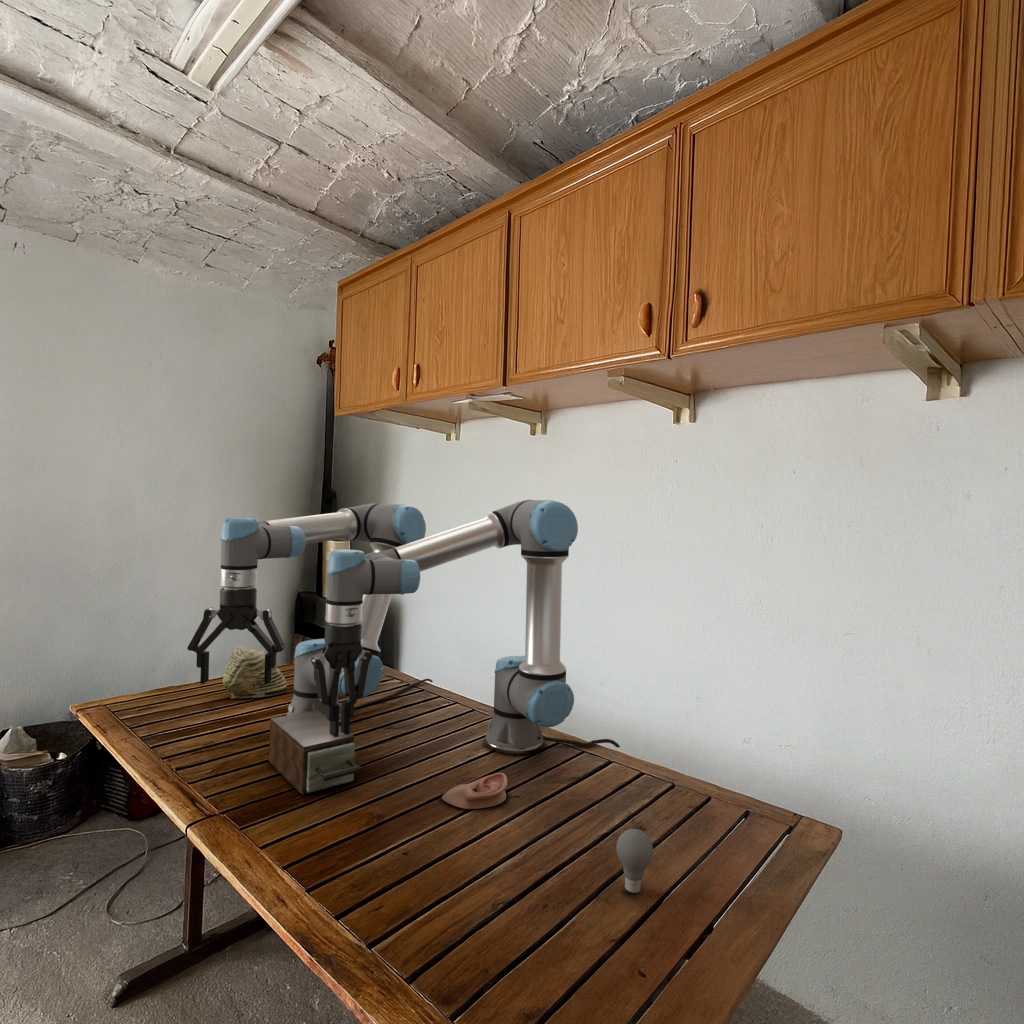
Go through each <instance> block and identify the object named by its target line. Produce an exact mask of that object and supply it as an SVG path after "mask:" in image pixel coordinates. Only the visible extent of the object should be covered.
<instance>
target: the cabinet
mask: <svg viewBox="0 0 1024 1024" xmlns="http://www.w3.org/2000/svg"><path fill="white" fill-rule="evenodd" d="M286 715H287V714H286ZM286 715H282V716H276V717H271V718H270V720H269V722H270V723H269V744H268V745H269V747H268V748H269V749H268V762H269V763H270V764H271V765H272V766H273V767H274V768H275V770H277V772H278V773H280V774H281V776H283V777H284V778H285V779H286V780H287V782H288V783H290V785H292V786H293V788H295V789H296V790H297V791H298V793H300V794H301V795H302V796H304V795H307V794H311V793H314V792H315V791H313V792H309V793H308V792H307V791H306V789H307V763H308V751H310V750H314V749H319V748H323V747H328V746H332V745H337V744H341V743H345V744H348V743H352V742H353V743H354V744H355V735H353V734H351V733H350V732H349V734H348V735H345V734H344V733H343V732H341V725H339V734H338V737H334V736H332V735H331V734H330V721H329V720H327V717H326V716H325V715H323V714H322V713H321V712H319V711H318V710H314V711H308V712H303V713H298V714H292V715H287V716H286ZM351 782H353V781H350V782H346V783H343V784H342V785H344V784H347V783H351ZM339 785H340V786H341V784H339ZM339 785H335V786H331V787H328V788H324V789H320V790H317V791H316V792H318V791H321V790H326V789H329V788H332V787H333V788H334V787H336V786H339Z"/></svg>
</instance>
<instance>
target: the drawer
mask: <svg viewBox="0 0 1024 1024" xmlns="http://www.w3.org/2000/svg"><path fill="white" fill-rule="evenodd" d="M355 754H356V743H355V742H354V743H353V742H352V743H348V744H345V743H341V744H337V745H332V746H328V747H323V748H319V749H314V750H310V751H308V763H307V789H306V791H307V792H308V793H307V794H310V793H309V792H311V793H314V792H318V791H321V790H320V789H322V790H325V789H324V788H326V789H329V788H332V787H331V786H333V787H336V786H335V785H337V786H339V784H340V785H344V784H347V783H346V782H348V783H351V782H350V781H352V782H353V781H354V780H355V778H354V776H355V774H357V773H360V772H361V771H362V766H361V765H360V764H359V765H357V764H355V756H356V755H355ZM343 783H344V784H343ZM328 787H329V788H328ZM317 790H318V791H317ZM313 791H314V792H313Z"/></svg>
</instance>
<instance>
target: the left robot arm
mask: <svg viewBox="0 0 1024 1024" xmlns="http://www.w3.org/2000/svg"><path fill="white" fill-rule="evenodd" d="M221 524H222V525H221V531H220V532H221V533H220V578H219V579H220V584H219V585H220V587H222V588H221V589H220V590H219V608H218V609H215V608H213V607H212V606H211V607H208V608H206V609H205V610H203V616H202V620H201V622H200V623H199V626H198V627H197V628H196V631H195V633H194V635H193V636H192V639H191V640H190V642H189V644H188V646H187V650H188V651H190V652H195V654H196V668H198V669H199V668H200V685H201V684H202V685H204V684H206V683H207V682H209V680H210V679H209V678H210V676H209V675H210V650H207V649H208V648H209V646H210V645H212V644H213V642H214V641H215V640H216V639H217V638H218V637H219V636H220V635H221V634H222V633H223V632H224V630H226V629H228V631H234V630H239V631H244V630H247V631H248V632H249V633H251V634H252V635H253V636H254V638H255V639H256V640H257V641H258V642H259V644H260V645H261V646H262V647H263V648H264V650H265V651H266V652H267V653H266V655H265V674H264V684H268V683H269V682H270V681H271V668H274V667H275V666H276V667H277V654H278V653H281V652H282V651H284V650H285V649H286V644H285V642H284V640H283V638H282V636H281V634H280V632H279V630H278V628H277V626H276V624H275V622H274V620H273V616H272V615H273V614H272V609H270V608H266V609H260V610H259V609H258V608H257V599H258V597H257V593H258V590H257V588H256V586H257V585H258V562H259V560H265V559H266V560H267V559H289V558H294V557H298V556H300V555H301V554H302V553H303V552H304V551H305V548H306V545H310V544H311V545H312V544H316V543H323V542H329V541H337V540H341V541H343V542H355V541H357V542H358V541H359V542H366V543H369V546H370V547H371V549H372V553H373V552H379V553H380V552H383V551H386V550H389V549H393V548H395V547H399V546H402V545H405V544H408V543H411V542H414V541H417V540H420V539H423V538H426V533H427V532H426V531H427V525H426V520H425V519H424V515H423V513H422V512H421V510H420V509H419V508H417V507H416V506H414V505H409V504H404V503H399V504H396V503H381V502H374V503H367V504H366V503H365V504H361V505H356V506H351V507H343V508H340V509H338V510H337V511H336V512H330V513H329V512H328V513H322V514H321V513H320V514H313V515H303V516H295V517H286V518H278V519H269V520H262V521H261V520H260V521H259V520H258V519H257V518H253V517H227V518H225V519H224V520H223V521H222V523H221ZM392 596H393V594H371V595H363V609H362V621H361V622H360V624H361V625H362V637H361V645H362V648H363V650H367V651H369V652H371V653H372V654H373V656H372V658H371V660H370V662H369V665H368V671H367V677H366V682H365V688H364V694H363V697H362V698H358V699H357V700H359V699H365V698H367V697H368V696H369V695H370V694H372V693H374V692H375V691H376V690H377V688H378V687H379V685H380V684H381V681H382V679H383V675H384V667H383V661H382V660H381V659H380V655H381V649H380V646H379V645H378V641H379V638H380V635H381V632H382V629H383V626H384V622H385V620H386V619H385V618H386V616H387V612H388V609H389V606H390V603H391V600H392ZM216 616H217V617H218V619H219V621H221V622H219V624H218V625H217V626H216V627H215V628H214V629H213V631H211V633H210V634H209V635H208V636H207V638H206V639H204V641H203V642H202V643H201V644H200V642H201V640H202V639H203V638H204V635H205V634H206V631H207V630H208V628H209V626H210V624H211V622H212V621H213V620H214V619H215V618H216ZM257 617H259V618H260V620H262V621H263V624H264V626H265V629H266V631H267V632H268V634H269V636H268V635H266V633H265V632H264V631H263V630H262V628H261V627H260V626H259V624H258V623H257V621H256V619H257ZM269 637H270V638H271V639H270V638H269ZM324 646H325V638H317V639H316V638H315V639H308V640H304V641H301V642H299V643H298V644H297V645H296V646H295V652H294V656H293V658H294V670H293V671H294V672H293V695H292V696H293V697H292V699H291V702H290V703H289V705H288V707H287V710H288V711H287V713H286V715H285V716H287V715H292V714H298V713H303V712H308V711H314V710H318V711H319V712H321V713H322V714H323V715H325V716H326V715H327V705H324V704H322V703H321V702H319V701H318V696H317V687H316V678H315V669H314V666H313V664H312V663H311V658H312V657H317V656H319V655H320V654H322V651H323V649H324ZM359 659H360V658H359V657H358V658H357V660H356V661H355V671H354V679H356V674H357V668H358V662H359ZM323 666H324V669H325V677H326V686H327V688H328V680H329V672H330V671H329V663H328V661H327V660H326V659H325V665H323ZM424 682H429V683H433V682H434V681H433V680H432V679H430V678H424V679H422V680H419V681H417V682H413V683H411V684H409V685H408V686H406V687H404V688H402V689H400V690H398V691H396V692H394V693H391V694H389V695H387V696H384V697H381V698H377V699H374V700H371V701H367V702H365V703H362V704H359V705H354V710H356V709H360V708H364V707H365V706H369V705H371V704H376V703H378V702H382V701H385V700H388V699H390V698H392V697H395V696H396V695H399V694H400V693H403V692H404V691H406V690H409V689H410V688H412V687H414V686H417V685H420V684H423V683H424ZM339 695H340V696H342V697H344V698H345V682H344V669H343V668H342V669H341V673H340V676H339V685H338V693H337V701H336V704H337V705H339V706H340V708H339V726H341V707H342V705H341V702H340V699H339Z"/></svg>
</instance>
